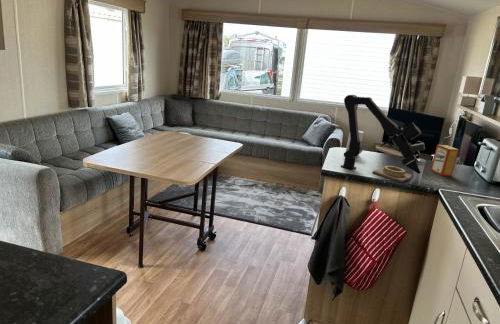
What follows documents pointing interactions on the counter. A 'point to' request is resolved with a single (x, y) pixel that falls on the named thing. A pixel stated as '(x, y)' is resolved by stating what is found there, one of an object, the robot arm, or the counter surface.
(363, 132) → the skincare box
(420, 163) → the piston
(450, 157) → the baking soda box
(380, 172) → the ring board
